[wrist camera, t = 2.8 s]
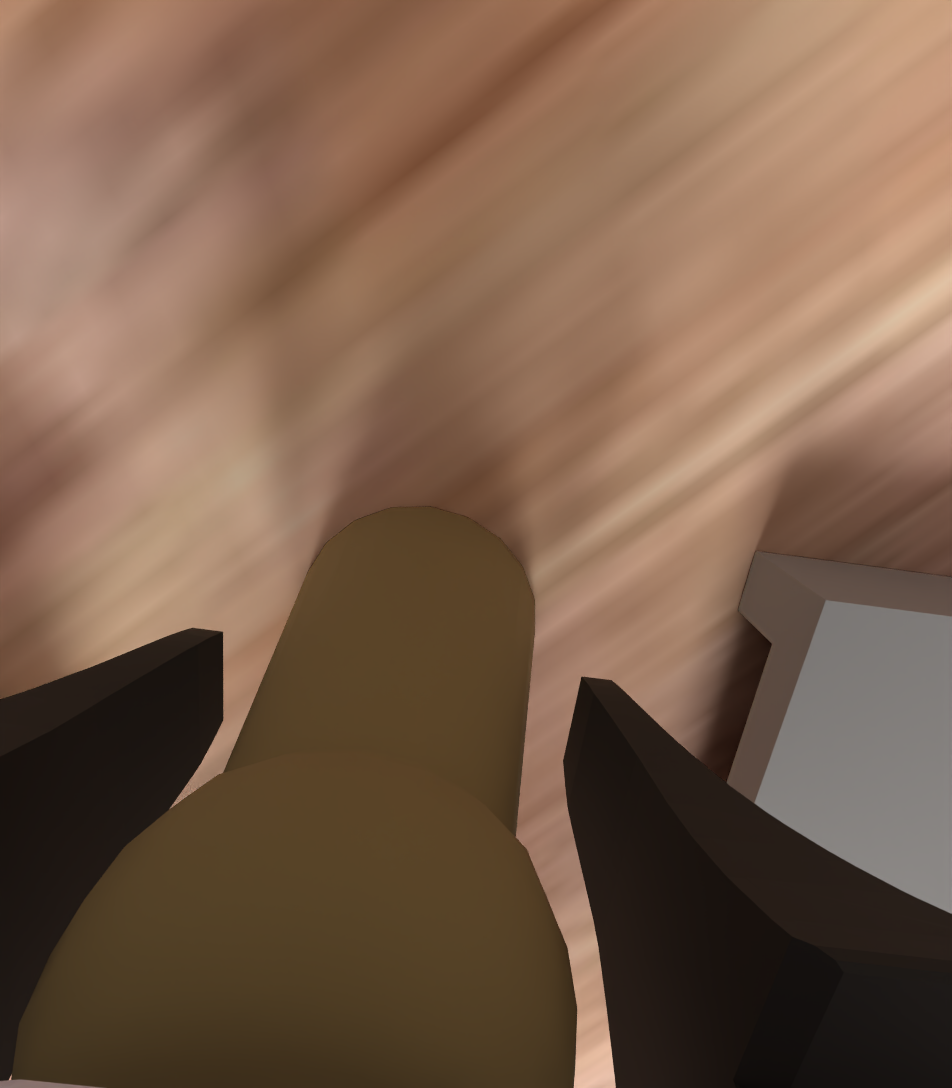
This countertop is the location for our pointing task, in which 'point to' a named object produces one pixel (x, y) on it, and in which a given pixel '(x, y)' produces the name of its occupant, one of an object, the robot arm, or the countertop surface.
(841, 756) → the gray flat panel
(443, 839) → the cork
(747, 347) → the countertop surface
